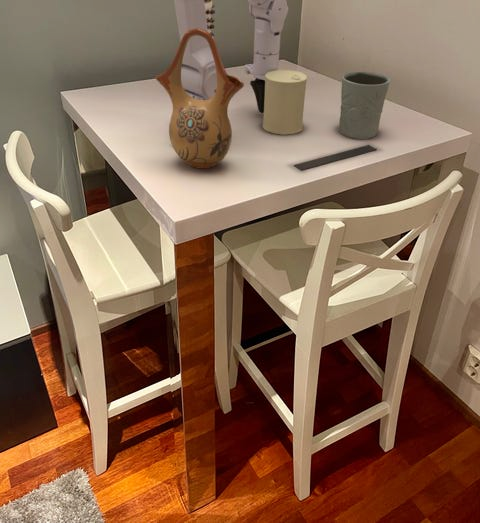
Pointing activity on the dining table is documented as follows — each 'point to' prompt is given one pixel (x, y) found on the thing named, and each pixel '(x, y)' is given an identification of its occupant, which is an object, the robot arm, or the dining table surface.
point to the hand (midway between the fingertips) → (263, 111)
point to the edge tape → (334, 157)
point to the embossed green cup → (362, 103)
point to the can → (284, 101)
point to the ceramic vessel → (199, 111)
